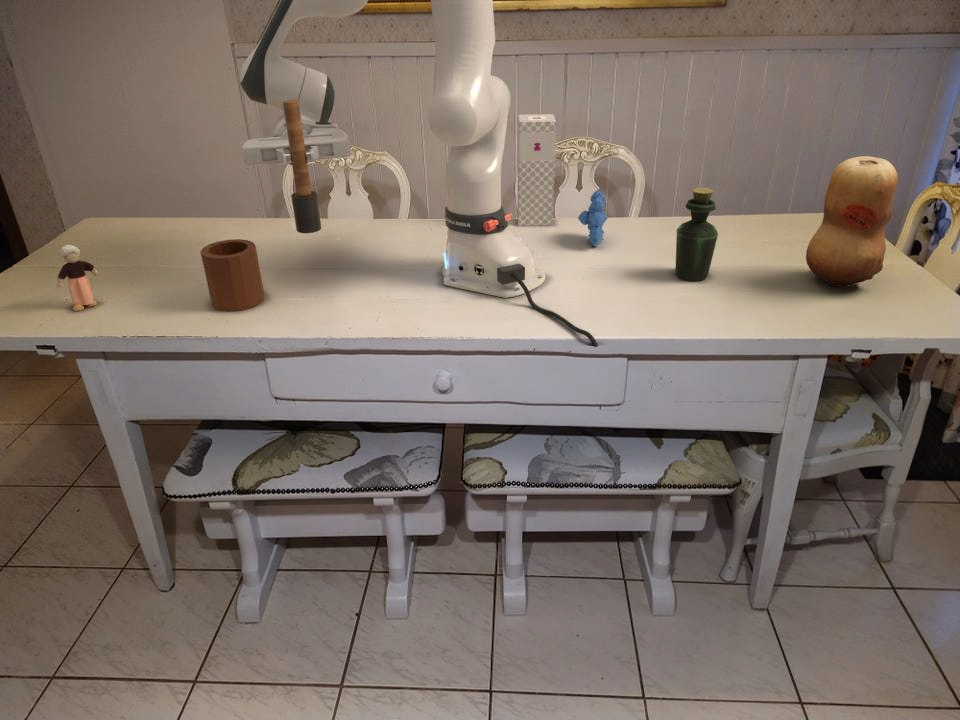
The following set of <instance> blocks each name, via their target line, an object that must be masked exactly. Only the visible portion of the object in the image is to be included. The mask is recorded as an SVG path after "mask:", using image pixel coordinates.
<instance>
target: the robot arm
mask: <svg viewBox="0 0 960 720" xmlns="http://www.w3.org/2000/svg"><path fill="white" fill-rule="evenodd" d="M368 2H369V0H278V1H277V3H276V6H275V7H274V9H273V11H272V13H271V15H270V17H269V19H268V21H267V23H266V25H265V27H264V29H263V31H262V33H261V35H260V37H259V39H258V41H257V43H256V44H255V46H254V48H253V50H252V51H251V52H250V54H249V55H248V56H247V58H246V59H245V60H244V62H243V65H242V67H241V70H240V75H239V76H240V79H239V81H240V82H239V84H240V87H241V88H242V90H243V92H244V93H245V95H246V96H247V97H248V98H249V100H250V101H253V102H255V103H260V104H263V105H269V106H271V107H274V108H277V109H279V110H281V111H280V112H279V113H278V114H277V115H276V116H275V118H274V121H273V124H272V127H271V128H272V129H271V132H272V133H271V135H272V136H270V137H258V138H250V139H247V140H246V141H245V142H244V143H243V144H242V146H241V151H242V156H243V162H244V164H245V165H247V166H261V165H262V166H263V165H271V164H273V165H274V164H283V165H290V166H292V160H291V153H290V148H289V141H288V134H287V128H286V121H285V114H284V108H283V101H287V100H298V101H299V107H300V115H301V122H302V129H303V136H304V143H305V151H306V159H307V164H309V163H313V162H316V161H319V160H331V159H343V158H349V157H351V156H352V152H351V149H352V148H351V141H350V137H349V135H348V134H347V133H346V132H345V131H344V130H343V129H340V128H339V126H338V123H336V122H329V121H330V118H331V116H332V113H333V110H334V109H333V108H334V104H335V88H334V85H333V82H332V80H331V78H330V76H329V75H328V74H325V73H323V72H321V71H319V70H317V69H314V68H311V67H309V66H305V65H304V64H303V65H302V64H300V63H298V62H296V61H295V62H294V61H293V60H290V59H288V58H285V57H283V56H281V55H280V54H279V51H280V50H281V47H282V45H283V44H284V42H285V40H286V38H287V36H288V35H289V33H290V31H291V28H292V27H293V25H294V24H295V23H296V22H297V21H299V20H302V19H305V18H318V17H319V18H336V19H337V18H345V17H350V16H352V15H355V14H357V13H359V12H360V11H362V10H363V9H364V8H365V6H366V5H367V4H368ZM493 2H494V1H493V0H430V5H431V6H430V7H431V14H432V15H431V17H432V25H433V35H434V47H435V49H434V50H435V51H434V52H435V54H434V69H433V70H434V72H433V91H432V100H431V102H430V103H431V104H430V106H429V110H428V124H429V129H430V130H431V132H432V134H433V136H435V138H436V139H437V140H438V141H439V142H441V143H442V144H444V145H446V146H450V150H449V155H448V156H449V157H448V161H447V163H446V166H445V185H446V186H445V189H446V206H445V208H444V219H445V221H444V222H445V227H446V229H447V231H446V232H447V233H446V246H445V252H443V258H444V260H443V261H444V263H443V266H442V270H441V274H442V276H443V285H444V286H446V287H447V286H448V287H450V288H451V287H452V288H455V289H461V290H465V291H466V290H467V291H471V292H475V293H481V294H484V295H490V296H494V297H498V298H506V299H508V298H514V297H518V296H521V295H524V294H525V297H526V299H527V301H528V303H529V305H530V306H531V307H532V308H533V309H534V310H535V311H537V312H539V313H542V314H545V315H548V316H551V317H553V318H555V319H556V320H558V321H560V322H561V323H562V324H564V325H565V326H566V327H567V328H569V329H570V330H572V331H574V332H575V333H578V334H580V335H583V336H585V337H586V338H588V340H589V341H590V343H591V345H592V347H594V348H598V347H599V346H598V343H597V340H596V339H595V337H594V336H593V334H592V333H590V332H589V331H587V330H585V329H581V328H580V327H577V326H575V325H574V324H573V323H571V322H570V321H569V320H568V319H566V318H564V317H563V316H561V315H560V314H558V313H556V312H555V311H552V310H549V309H545V308H542V307H540V306H538V304H537V303H536V302H535V301H534V299H533V298H532V296H531V291H533V290H535V289H537V288H538V287H540V286H541V285H542V284H543V283H544V282H545V281H546V277H547V276H546V273H545V272H544V271H543V270H540V269H538V268H536V266H535V258H534V254H533V251H532V249H531V248H530V247H529V246H528V245H527V244H526V243H525V242H524V241H523V238H520V237H519V236H518V235H517V234H516V232H514V230H513V229H512V228H510V226H509V222H508V221H510V220H511V219H513V218H512V217H511V216H512V215H513V213H512V212H511V213H508V214H506V212H505V209H504V207H503V205H502V166H503V162H502V161H503V158H504V157H503V156H504V151H505V144H506V137H507V125H508V118H509V111H510V109H511V102H512V97H511V92H510V89H509V87H508V85H507V84H506V83H505V81H504V80H503V79H501V78H499V77H498V76H497V75H493V74H492V63H493V54H494V49H495V45H496V29H495V28H496V27H495V14H494V3H493Z"/></svg>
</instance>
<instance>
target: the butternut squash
mask: <svg viewBox="0 0 960 720" xmlns="http://www.w3.org/2000/svg"><path fill="white" fill-rule="evenodd" d="M898 182H899V175H898V172H897V170H896V168H895V166H894V165H893V164H892V163H891V162H890V161H888V159H884V158H881V157H874V156H867V155H865V156H863V155H862V156H855V157H850V158H847V159H845V160H843V161H841V162H840V163H839V164H838V165H837V166H836V167H835V169H834V170H833V172H832V174H831V176H830V180H829V182H828V186H827V189H826V193H825V196H824V204H823V217H822V221H821V224H820V225H819V226H818V229H817V230H816V231H815V233H814V234H813V235H812V237H811V238H810V241H809V242H808V245H807V248H806V252H805V261H806V264H807V266H808V268H809V270H810V272H811V273H812V274H813V275H814V276H815V277H817V278H819V279H821V280H823V281H825V282H826V283H827V284H828V285H831V286H835V287H842V288H843V287H845V288H847V287H849V286H855V285H856V284H859V283H864V282H867V281H870V280H872V279H873V278H874V276H875V275H877V274H878V273H880V272H881V271H882V270H883V268H884V260H885V254H886V247H887V246H886V238H885V227H886V225H887V224H888V223H889V222H890V220H891V218H892V215H893V212H892V210H893V209H892V208H893V207H892V206H893V203H894V198H895V194H896V190H897V186H898Z"/></svg>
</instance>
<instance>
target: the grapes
mask: <svg viewBox="0 0 960 720" xmlns="http://www.w3.org/2000/svg"><path fill="white" fill-rule="evenodd" d="M605 201H606V195H605V194H604V193H603V191H601V190H600V189H597V190H595V191H593V193H592V194H591V196H590V202H591V203H590V205H589V207H588V209H587V210H583V211H582V212H581V213H580V214H579V215H578V217H577V219H578V220H579V222H580V223H581V224H582V225H583V226H587V229H588V231H589V232H588V233H589V234H588V240H589V242H590V244H591V245H593V246H594V247H597V246H599V245H600V244H601V243H602V242H603V241H604V238H603V237H604V233H605V231H604V230H603V226H604V224H605V223H606V221H607V220H608V216H607V214H605V210H604V208H605V207H606V203H605Z"/></svg>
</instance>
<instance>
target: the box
mask: <svg viewBox="0 0 960 720" xmlns="http://www.w3.org/2000/svg"><path fill="white" fill-rule="evenodd" d="M556 137H557V120H556V118H555V114H554V113H539V114H538V113H537V114H533V113H532V114H530V113H529V114H517V209H516V210H517V211H516V212H517V224H518V227H527V226H530V227H531V226H533V227H535V226H540V227H541V226H554V225H553V224H554V197H555V196H554V195H555V168H556Z"/></svg>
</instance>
